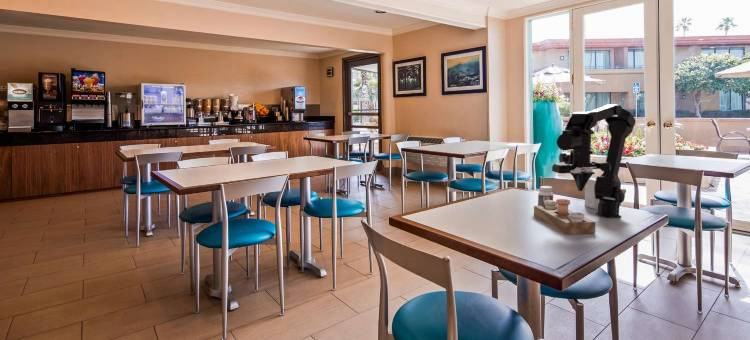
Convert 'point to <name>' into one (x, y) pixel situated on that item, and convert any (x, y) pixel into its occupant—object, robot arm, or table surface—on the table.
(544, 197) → the pill bottle
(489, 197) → the table surface
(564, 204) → the terracotta plug middle
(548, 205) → the grey plug
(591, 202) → the skincare box
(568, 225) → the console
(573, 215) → the grey plug
